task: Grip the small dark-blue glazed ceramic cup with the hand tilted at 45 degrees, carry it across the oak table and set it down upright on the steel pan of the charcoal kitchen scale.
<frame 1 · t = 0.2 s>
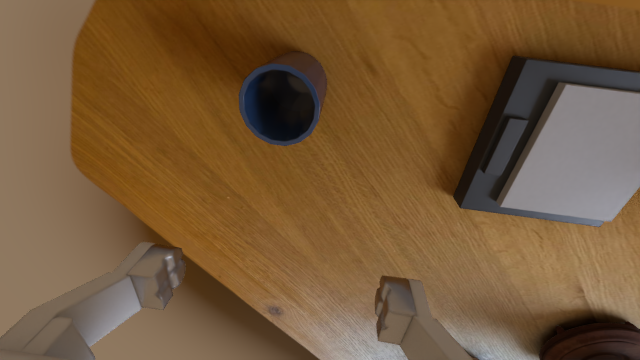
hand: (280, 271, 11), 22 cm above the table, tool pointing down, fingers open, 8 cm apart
cup: (297, 83, 29), on the table
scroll: (583, 340, 46), on the table
scale: (553, 145, 30), on the table
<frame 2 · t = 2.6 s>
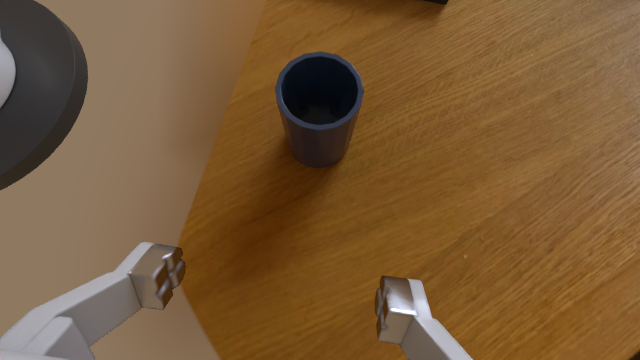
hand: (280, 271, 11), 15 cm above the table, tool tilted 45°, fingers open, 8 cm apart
cup: (318, 138, 28), on the table
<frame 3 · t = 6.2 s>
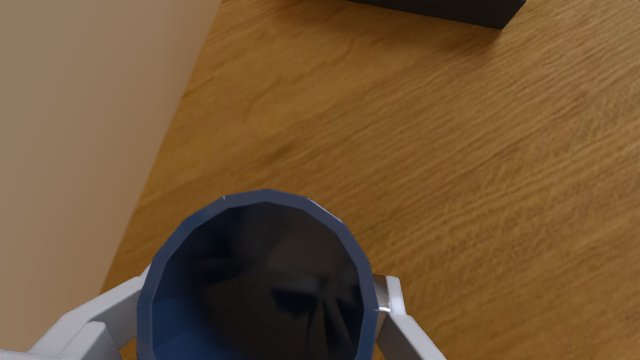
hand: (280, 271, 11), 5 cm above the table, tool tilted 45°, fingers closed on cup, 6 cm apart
cup: (290, 276, 16), on the table, touching gripper
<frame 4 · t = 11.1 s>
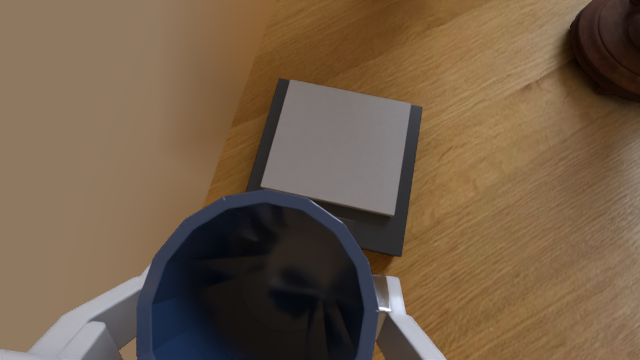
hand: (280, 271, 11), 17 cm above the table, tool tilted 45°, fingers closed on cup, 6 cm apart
cup: (290, 276, 16), point 13 cm above the table, touching gripper
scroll: (618, 57, 35), on the table
scale: (333, 167, 31), on the table
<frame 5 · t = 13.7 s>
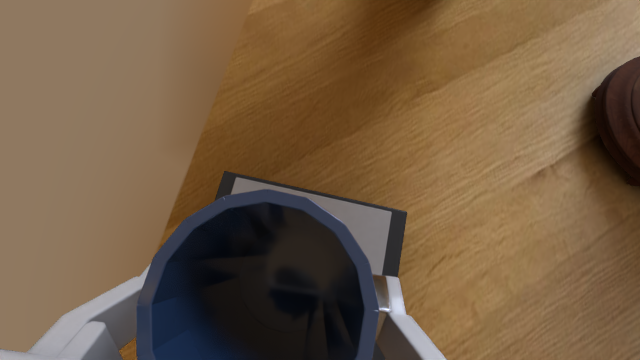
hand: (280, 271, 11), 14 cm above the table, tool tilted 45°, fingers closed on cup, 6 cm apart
cup: (290, 276, 16), point 9 cm above the table, touching gripper
scale: (293, 284, 24), on the table
when the fingers open (8 cm above the table, at t = 15.8 s): cup stays where it is, resting on scale.
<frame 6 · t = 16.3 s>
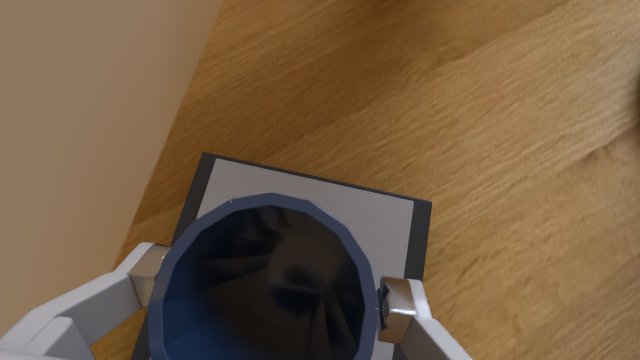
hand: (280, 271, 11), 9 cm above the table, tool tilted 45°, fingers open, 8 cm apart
cup: (292, 276, 16), point 3 cm above the table, touching scale
scale: (290, 293, 19), on the table
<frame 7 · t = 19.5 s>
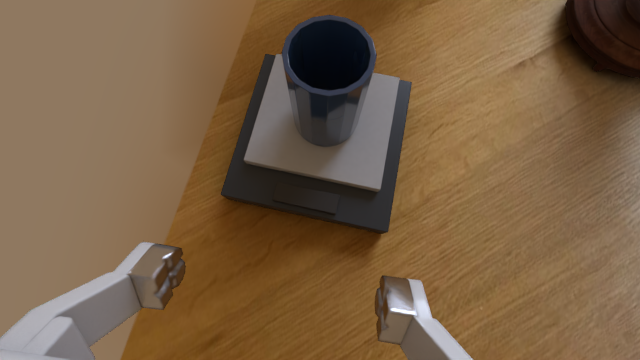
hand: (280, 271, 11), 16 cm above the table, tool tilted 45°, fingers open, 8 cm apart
cup: (325, 117, 27), point 3 cm above the table, touching scale
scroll: (615, 34, 34), on the table
scale: (321, 144, 30), on the table
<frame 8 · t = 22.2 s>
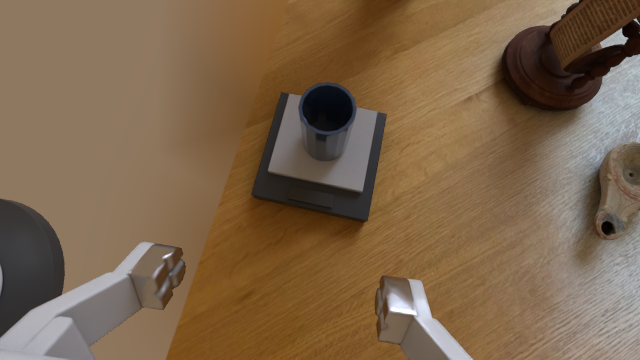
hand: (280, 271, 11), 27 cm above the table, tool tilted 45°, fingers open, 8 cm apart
cup: (325, 140, 38), point 3 cm above the table, touching scale
oil lamp: (612, 182, 41), on the table
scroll: (540, 75, 46), on the table
scale: (321, 158, 41), on the table
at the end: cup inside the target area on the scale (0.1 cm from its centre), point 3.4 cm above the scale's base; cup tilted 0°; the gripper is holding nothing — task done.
